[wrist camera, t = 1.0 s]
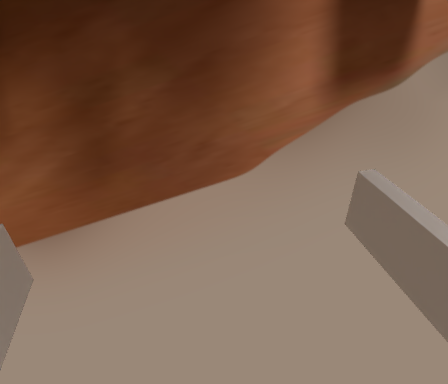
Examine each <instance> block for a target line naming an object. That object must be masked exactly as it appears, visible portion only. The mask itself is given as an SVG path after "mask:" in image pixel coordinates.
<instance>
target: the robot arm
mask: <svg viewBox="0 0 448 384" xmlns="http://www.w3.org/2000/svg"><path fill="white" fill-rule="evenodd" d="M345 225H346V226H347V227H348V228H349V229H350V231H351V232H352V233H353V234H354V235H355V236H356V237H357V239H358V240H359V241H360V242H361V243H362V244H363V245H364V247H365V248H366V249H367V250H368V251H369V252H370V254H371V255H372V256H373V257H374V258H375V259H376V260H377V262H378V263H379V264H380V265H381V266H382V267H383V268H384V270H385V271H386V272H387V273H388V274H389V275H390V277H391V278H392V279H393V280H394V281H395V282H396V283H397V285H398V286H399V287H400V288H401V289H402V290H403V291H404V293H405V294H406V295H407V296H408V297H409V298H410V300H411V301H412V302H413V303H414V304H415V305H416V306H417V308H419V310H420V311H421V312H422V313H423V314H424V316H425V317H426V318H427V319H428V320H429V321H430V322H431V324H432V325H433V326H434V327H435V328H436V329H437V331H438V332H439V333H440V334H441V335H442V336H443V337H444V339H445V340H446V341H447V342H448V225H447V224H446V223H444V222H443V221H442V220H440V219H439V218H438V217H437V216H435V215H434V214H433V213H431V212H430V211H429V210H427V209H426V208H425V207H423V206H422V205H421V204H420V203H418V202H417V201H416V200H414V199H413V198H412V197H410V196H409V195H408V194H407V193H405V192H404V191H403V190H401V189H400V188H399V187H398V186H396V185H395V184H394V183H392V182H391V181H390V180H388V179H387V178H386V177H384V176H383V175H382V174H381V173H379V172H378V171H377V170H375V169H373V170H366V171H359V172H358V174H357V178H356V182H355V186H354V190H353V193H352V198H351V201H350V205H349V209H348V213H347V217H346V221H345ZM32 282H33V278H32V276H31V274H30V272H29V271H28V269H27V267H26V265H25V263H24V262H23V260H22V258H21V256H20V254H19V252H18V251H17V249H16V247H15V245H14V243H13V242H12V240H11V238H10V236H9V234H8V233H7V231H6V229H5V227H4V225H3V224H0V370H1V367H2V364H3V361H4V358H5V356H6V353H7V350H8V348H9V345H10V342H11V339H12V336H13V334H14V331H15V329H16V326H17V323H18V320H19V317H20V315H21V312H22V309H23V307H24V304H25V301H26V298H27V296H28V293H29V290H30V287H31V285H32Z"/></svg>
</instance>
